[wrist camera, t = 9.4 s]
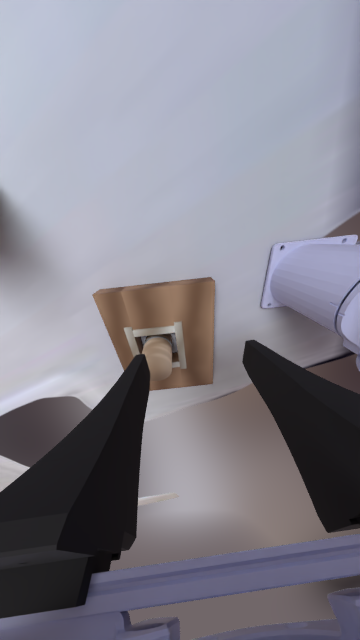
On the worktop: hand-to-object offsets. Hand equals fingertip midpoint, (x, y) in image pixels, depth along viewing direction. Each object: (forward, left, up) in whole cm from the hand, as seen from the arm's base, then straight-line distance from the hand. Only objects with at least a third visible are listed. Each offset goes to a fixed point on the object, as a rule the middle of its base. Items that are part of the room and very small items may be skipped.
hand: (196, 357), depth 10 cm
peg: (+4, +6, -10) cm, 13 cm away
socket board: (+3, +6, -10) cm, 12 cm away
